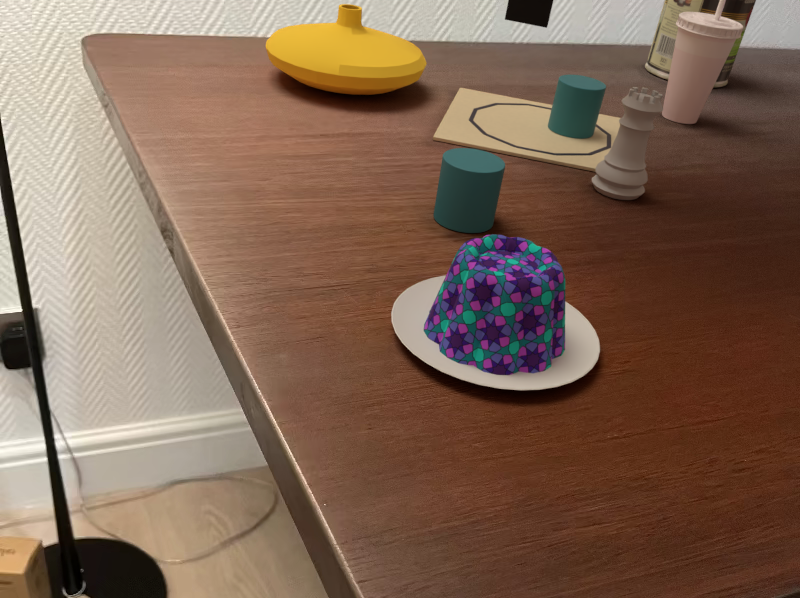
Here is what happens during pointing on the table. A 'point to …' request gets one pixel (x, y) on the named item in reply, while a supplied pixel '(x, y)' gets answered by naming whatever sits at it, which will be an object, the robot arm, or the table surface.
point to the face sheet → (521, 130)
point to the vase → (345, 55)
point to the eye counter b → (576, 106)
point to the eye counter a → (468, 190)
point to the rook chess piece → (629, 148)
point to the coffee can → (663, 43)
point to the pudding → (498, 318)
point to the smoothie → (697, 62)
